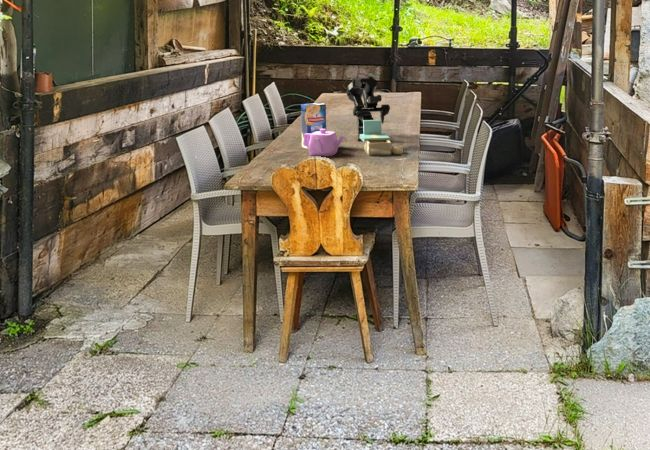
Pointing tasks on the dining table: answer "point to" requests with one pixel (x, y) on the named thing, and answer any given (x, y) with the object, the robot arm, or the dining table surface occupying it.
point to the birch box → (377, 147)
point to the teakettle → (322, 143)
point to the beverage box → (312, 118)
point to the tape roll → (397, 149)
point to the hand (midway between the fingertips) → (374, 123)
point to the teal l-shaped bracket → (372, 131)
